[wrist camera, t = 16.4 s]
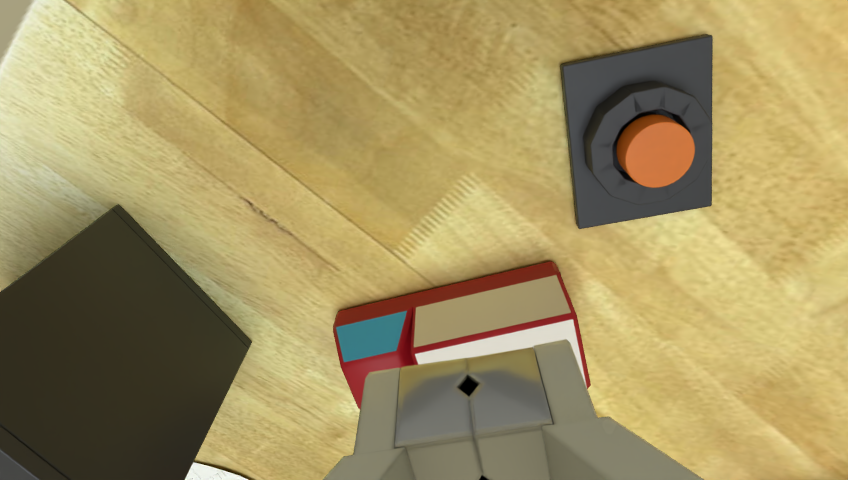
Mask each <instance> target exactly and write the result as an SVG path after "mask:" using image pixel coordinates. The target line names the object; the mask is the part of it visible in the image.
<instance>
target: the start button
mask: <svg viewBox="0 0 848 480" xmlns="http://www.w3.org/2000/svg"><path fill="white" fill-rule="evenodd" d="M694 154H695V145H694V140H693V138H692V136H691V134H690V133H689V132H688V130H687V129H685V128H684V127H683V126H681V125H680V124H678V123H677V122H675V121H674V120H672V119H670V118H669V117H666V116H663V115H658V114H652V115H646V116H643V117H640V118H638V119H636V120H635V121H633V122H632V123H630V124H629V125H628V126H627V127H626V128H625V129H624V131H623V132H622V134H621V136H620V138H619V140H618V143H617V158H618V161H619V164H620V165H621V167H622V168H623V169H624V170H625V171H626V172H627V174H628V175H629V176H630V177H631V178H632V179H633V180H634V181H635V182H637V183H638V184H640V185H643V186H646V187H652V188H657V187H663V186H667V185H670V184H672V183H674V182H675V181H677V180H678V179H680V178H681V177H682V176H683V175H684V174H685V173H686V172H687V170H688V169H689V167H690V166H691V164H692V161H693V158H694Z"/></svg>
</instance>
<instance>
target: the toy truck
mask: <svg viewBox="0 0 848 480" xmlns="http://www.w3.org/2000/svg"><path fill="white" fill-rule="evenodd" d="M333 333H334V337H335V342H336V346H337V351H338V356H339V360H340V365H341V368H342V371H343V373H344V375H345V378H346V380H347V382H348V385H349V387H350V390H351V392H352V394H353V397H354V399H355V401H356V404H357V406H358V408H359V409H360V408H361V402H362V395H363V389H364V383H365V378H366V377H367V375H368V374H369V372H374V371H380V370H387V369H393V368H402V367H405V366H412V365H419V364H426V363H433V362H440V361H447V360H454V359H461V358H470V357H476V356H482V355H488V354H494V353H500V352H506V351H511V350H517V349H523V348H529V347H533V346H534V345H539V344H544V343H549V342H555V341H560V340H565V339H567V340H568V341H569V342H570V343H571V346H572V349H573V352H574V354H575V357H576V360H577V363H578V365H579V368H580V371H581V373H582V376H583V379H584V382H585V384H586V387H587V389H588V387H589V386H590V385H591V384H590V379H589V374H588V369H587V364H586V359H585V354H584V349H583V344H582V339H581V334H580V329H579V324H578V319H577V315H576V312H575V310H574V307H573V305H572V302H571V300H570V297H569V295H568V293H567V290H566V288H565V285H564V283H563V280H562V278H561V274H560V272H559V270H558V268H557V265H556V264H555V263H553V262H552V261H550V262H546V263H541V264H537V265H533V266H529V267H524V268H520V269H516V270H512V271H507V272H503V273H499V274H495V275H490V276H486V277H482V278H478V279H473V280H469V281H465V282H461V283H456V284H452V285H448V286H444V287H439V288H435V289H431V290H427V291H422V292H418V293H414V294H410V295H405V296H401V297H397V298H393V299H388V300H384V301H380V302H376V303H371V304H367V305H363V306H359V307H354V308H350V309H346V310H342V311H339V312H338V313H337V315H336V318H335V322H334V325H333Z"/></svg>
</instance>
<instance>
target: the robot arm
mask: <svg viewBox="0 0 848 480" xmlns="http://www.w3.org/2000/svg"><path fill="white" fill-rule="evenodd" d="M323 480H704V479H702V478H701V477H699V476H698V475H696V474H695V473H693V472H692V471H690V470H689V469H687V468H686V467H684V466H683V465H681V464H680V463H678V462H677V461H675V460H674V459H672V458H671V457H669V456H668V455H666V454H665V453H663V452H662V451H660V450H659V449H657V448H656V447H654V446H653V445H651V444H650V443H648V442H647V441H645V440H644V439H642V438H640V437H639V436H637V435H636V434H634V433H633V432H631V431H630V430H628V429H627V428H625V427H624V426H622V425H621V424H619V423H618V422H616V421H615V420H613V419H612V418H610V417H601V418H598V417H597V415H596V412H595V409H594V406H593V404H592V401H591V398H590V395H589V393H588V390H587V387H586V384H585V382H584V379H583V376H582V373H581V371H580V368H579V365H578V363H577V360H576V357H575V354H574V352H573V349H572V346H571V343H570V342H569V341H568V340H567V339H565V340H560V341H555V342H549V343H544V344H539V345H534V346H533V347H529V348H523V349H517V350H511V351H506V352H500V353H494V354H488V355H482V356H476V357H470V358H461V359H454V360H447V361H440V362H433V363H426V364H419V365H412V366H405V367H402V368H393V369H387V370H380V371H374V372H369V374H368V375H367V377H366V378H365V383H364V389H363V395H362V402H361V408H360V415H359V421H358V428H357V434H356V441H355V447H354V454H353V455H350V456H344V457H343V458H342V459H341V460H340V461H339V462H338V463H337V464H336V465H335V466H334V468H333V469H332V470H331V471H330V472H329V473H328V474H327V475H326V477H325V478H324V479H323Z"/></svg>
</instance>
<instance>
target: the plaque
mask: <svg viewBox="0 0 848 480" xmlns="http://www.w3.org/2000/svg"><path fill="white" fill-rule="evenodd" d="M185 480H248V479H246V478H243V477H241V476H239V475H236V474H233V473H230V472H227V471H224V470H220V469H217V468H214V467H210V466H206V465H202V464H198V463H193V464H192V466H191V468H190V470H189V472H188V474H187V476H186V478H185Z"/></svg>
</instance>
